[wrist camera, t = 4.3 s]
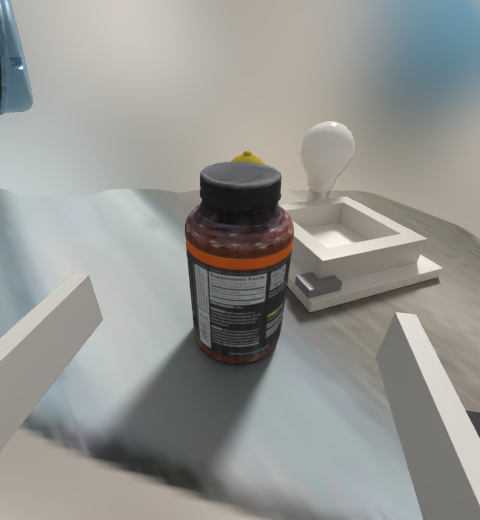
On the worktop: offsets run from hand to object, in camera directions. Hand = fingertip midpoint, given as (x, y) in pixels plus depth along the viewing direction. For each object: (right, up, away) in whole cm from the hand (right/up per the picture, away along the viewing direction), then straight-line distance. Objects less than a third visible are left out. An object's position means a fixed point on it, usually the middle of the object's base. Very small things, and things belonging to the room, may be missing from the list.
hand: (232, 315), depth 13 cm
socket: (+10, +3, +17) cm, 20 cm away
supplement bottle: (0, -3, +8) cm, 8 cm away
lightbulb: (+11, +9, +27) cm, 30 cm away
